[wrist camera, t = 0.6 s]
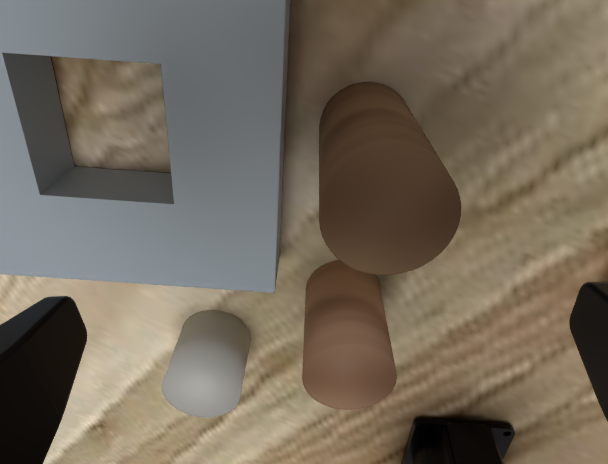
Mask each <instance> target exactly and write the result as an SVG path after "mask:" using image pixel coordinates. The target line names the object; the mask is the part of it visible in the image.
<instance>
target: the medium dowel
mask: <svg viewBox="0 0 608 464" xmlns="http://www.w3.org/2000/svg"><path fill="white" fill-rule="evenodd" d="M396 378H397V377H396V369H395V364H394V358H393V353H392V348H391V342H390V337H389V332H388V326H387V321H386V316H385V310H384V305H383V300H382V294H381V289H380V284H379V281H378V278H377V277H376V275H375V274H370V273H365V272H362V271H359V270H356V269H354V268H352V267H350V266H348V265H346V264H345V263H343V262H342V261H334V262H330V263H327V264H325V265H323V266H321V267H319V268H318V269H317V270H315V271H314V272H313V273H312V275H311V276H310V278H309V280H308V282H307V285H306V301H305V325H304V350H303V375H302V380H303V385H304V387H305V389H306V391H307V392H308V394H309V395H310V396H311V397H312V398H313V399H315V400H316V401H318V402H319V403H321V404H323V405H326V406H329V407H332V408H337V409H345V410H352V409H361V408H365V407H369V406H372V405H374V404H376V403H378V402H380V401H382V400H383V399H384V398H386V397H387V396H388V395H389V394H390V392H391V391H392V390H393V388H394V386H395V383H396Z"/></svg>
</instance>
